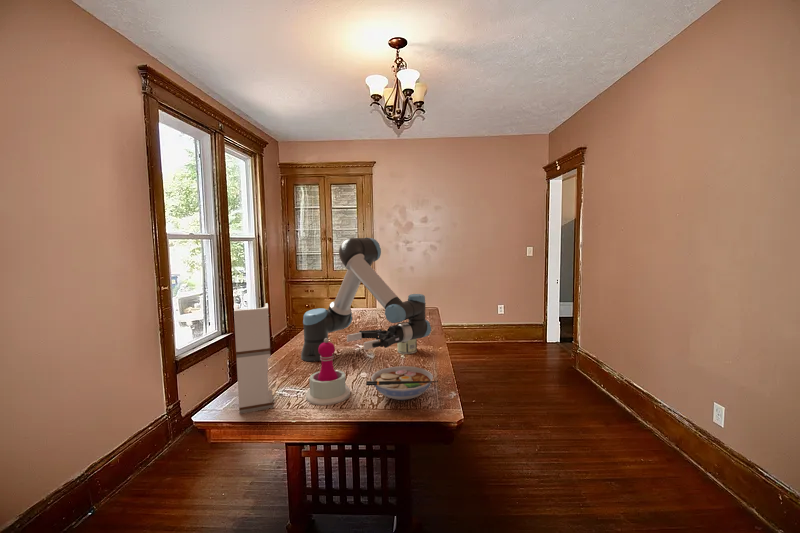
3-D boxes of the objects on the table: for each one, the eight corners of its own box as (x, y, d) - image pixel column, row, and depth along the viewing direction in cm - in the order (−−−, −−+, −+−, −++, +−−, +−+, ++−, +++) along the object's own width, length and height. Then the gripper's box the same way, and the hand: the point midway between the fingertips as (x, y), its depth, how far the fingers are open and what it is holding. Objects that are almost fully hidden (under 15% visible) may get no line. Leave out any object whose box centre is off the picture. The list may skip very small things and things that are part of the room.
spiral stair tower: (272, 408, 126) (268, 308, 124) (239, 413, 123) (233, 311, 120) (272, 395, 137) (267, 303, 135) (241, 400, 133) (236, 305, 131)
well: (299, 394, 137) (298, 374, 137) (337, 383, 147) (337, 365, 146) (317, 409, 124) (316, 388, 124) (357, 396, 134) (357, 376, 133)
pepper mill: (333, 395, 131) (331, 341, 130) (315, 394, 133) (312, 340, 131) (340, 387, 138) (339, 335, 137) (323, 386, 140) (321, 335, 138)
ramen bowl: (433, 383, 145) (433, 363, 144) (440, 409, 122) (439, 386, 122) (371, 384, 145) (370, 364, 144) (365, 411, 122) (365, 387, 122)
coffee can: (403, 347, 195) (403, 321, 194) (420, 349, 190) (420, 323, 189) (393, 352, 187) (392, 325, 186) (410, 355, 181) (410, 327, 180)
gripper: (417, 348, 145) (372, 359, 133) (383, 335, 165) (341, 344, 153) (417, 330, 145) (372, 339, 132) (382, 319, 165) (340, 326, 152)
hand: (355, 342), depth 142 cm, fingers open, 13 cm apart
